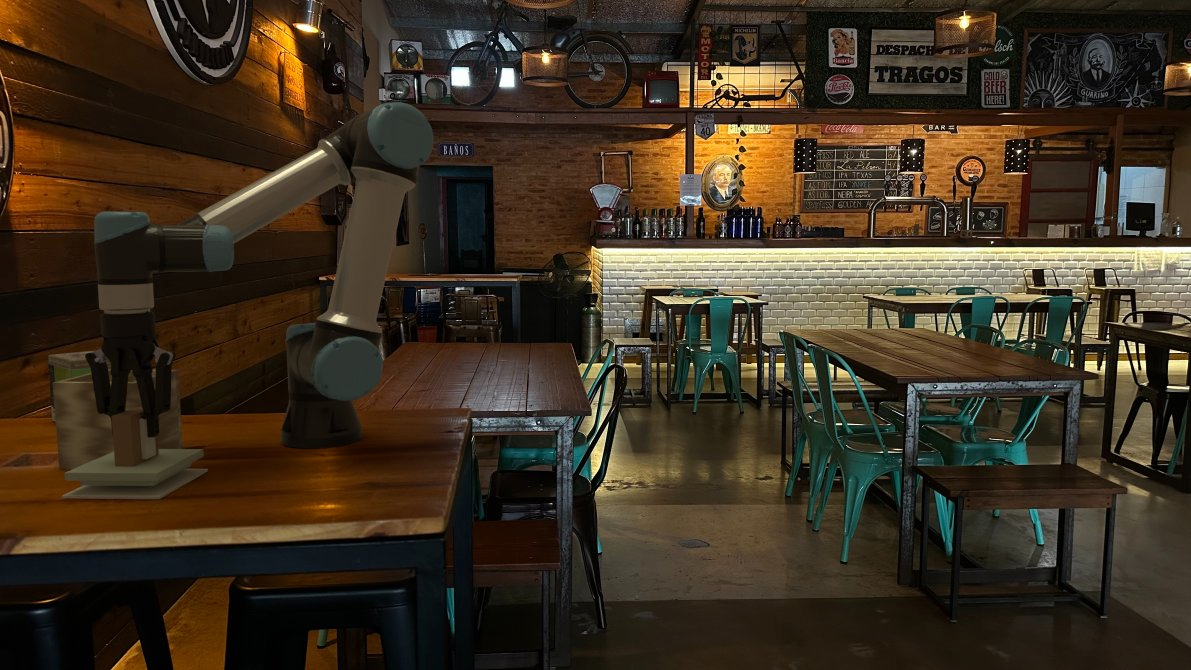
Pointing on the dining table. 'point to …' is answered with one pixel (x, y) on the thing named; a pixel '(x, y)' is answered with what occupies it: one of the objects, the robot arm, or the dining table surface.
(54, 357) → the tea box
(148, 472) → the lid
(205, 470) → the mat
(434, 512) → the dining table surface
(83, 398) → the crate
